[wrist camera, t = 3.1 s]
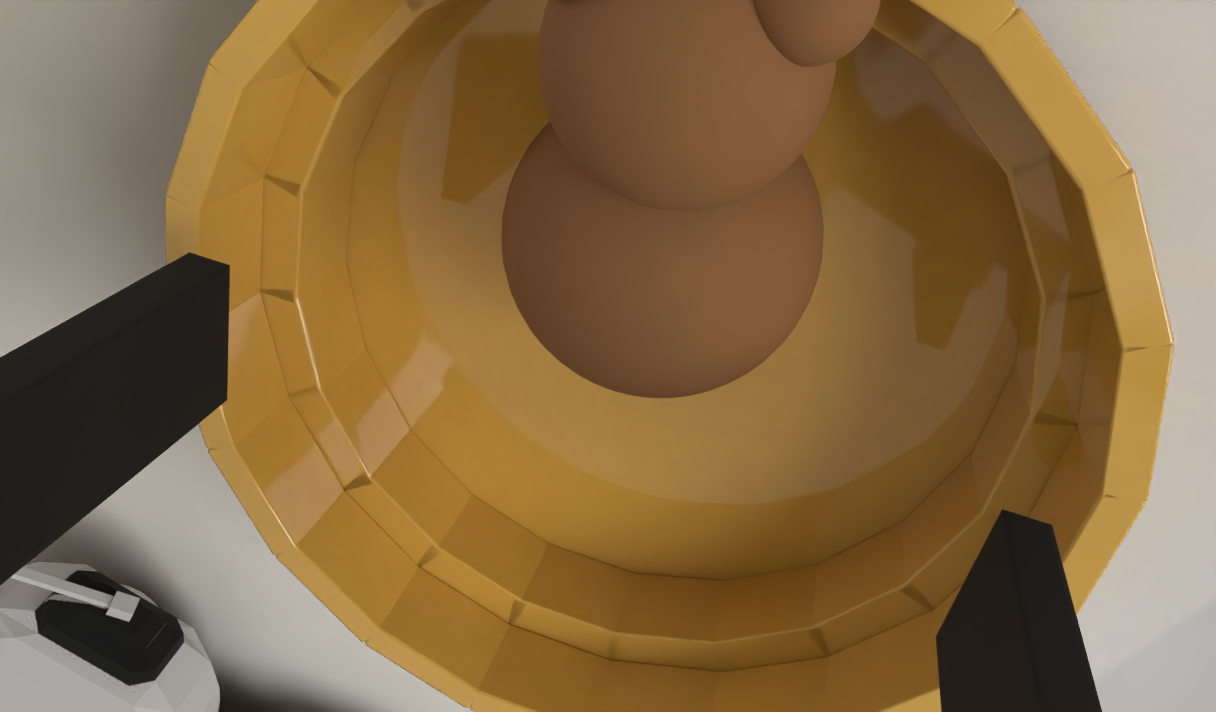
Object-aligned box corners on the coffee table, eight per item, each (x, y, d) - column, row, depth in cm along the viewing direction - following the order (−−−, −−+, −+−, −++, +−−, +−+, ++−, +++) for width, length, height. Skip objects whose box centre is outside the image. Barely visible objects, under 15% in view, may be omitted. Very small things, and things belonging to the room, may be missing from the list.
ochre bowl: (327, -250, 18) (152, -285, 14) (1289, -13, 16) (1439, 32, 12) (287, 482, 27) (171, 602, 22) (911, 697, 25) (917, 876, 20)
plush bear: (567, 170, 21) (557, -286, 12) (817, 243, 20) (990, -184, 12) (468, 392, 19) (374, 21, 10) (748, 483, 18) (901, 169, 9)
